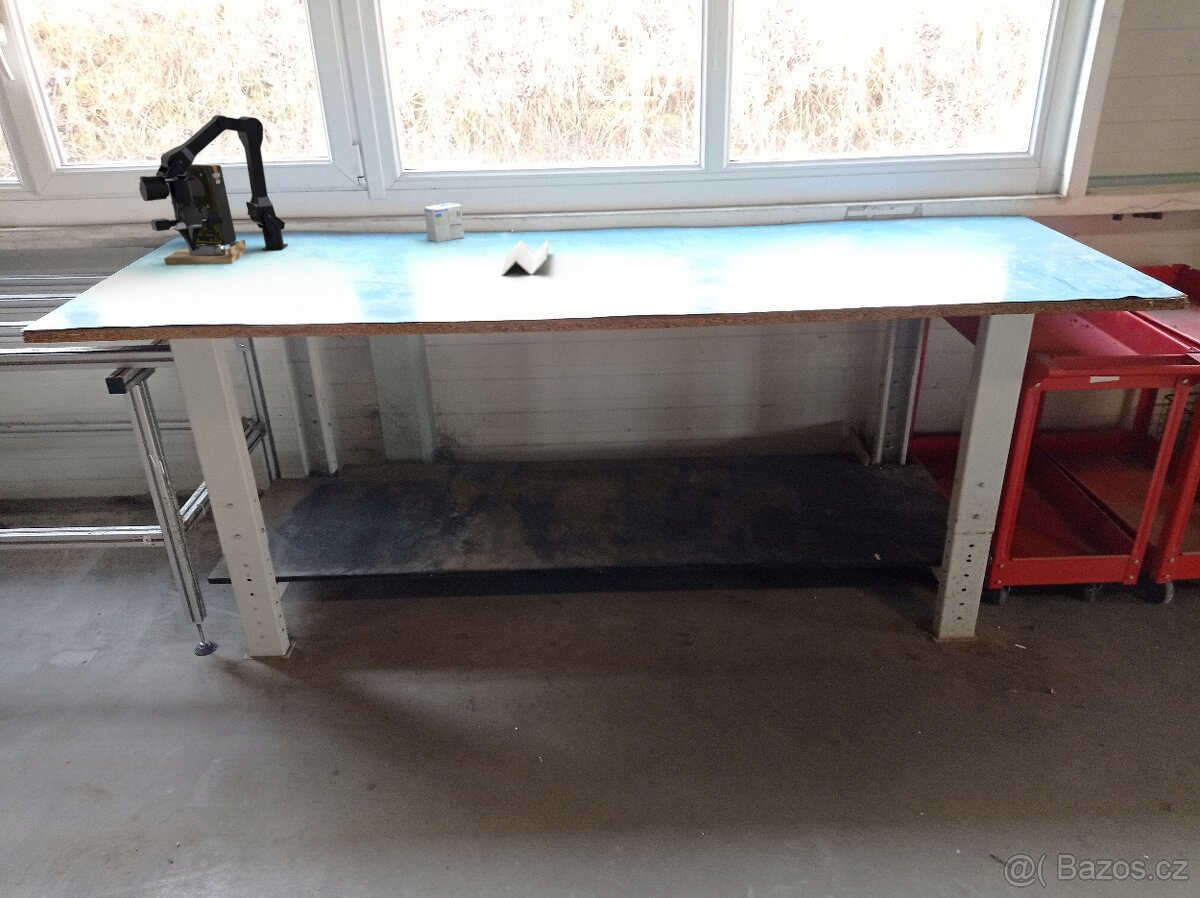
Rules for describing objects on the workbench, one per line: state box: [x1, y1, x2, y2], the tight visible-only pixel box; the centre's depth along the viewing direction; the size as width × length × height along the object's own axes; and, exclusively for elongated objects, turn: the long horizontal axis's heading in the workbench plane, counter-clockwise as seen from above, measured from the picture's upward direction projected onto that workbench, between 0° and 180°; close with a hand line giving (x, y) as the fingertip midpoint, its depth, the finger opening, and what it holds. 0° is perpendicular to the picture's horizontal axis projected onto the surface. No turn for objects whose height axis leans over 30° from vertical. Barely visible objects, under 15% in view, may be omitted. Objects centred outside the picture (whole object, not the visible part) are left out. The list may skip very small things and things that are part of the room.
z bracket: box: [500, 239, 550, 277], centre depth 249 cm, size 12×25×6 cm
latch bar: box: [187, 244, 226, 255], centre depth 259 cm, size 11×3×3 cm, turn 83°
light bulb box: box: [423, 202, 465, 243], centre depth 280 cm, size 11×7×11 cm, turn 130°
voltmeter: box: [178, 163, 237, 246], centre depth 278 cm, size 16×9×25 cm, turn 73°
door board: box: [163, 239, 247, 266], centre depth 262 cm, size 12×20×4 cm, turn 91°
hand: (193, 250), depth 257 cm, fingers closed
